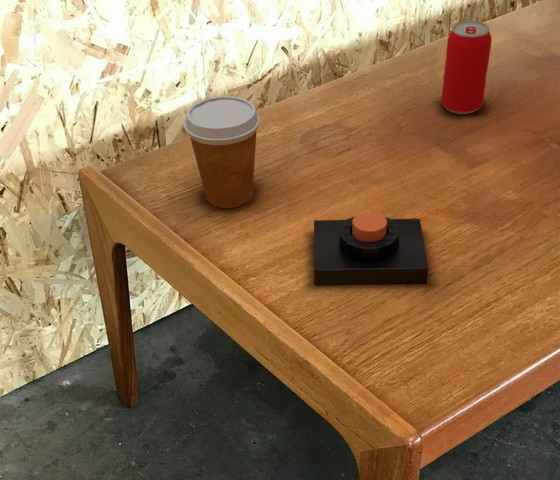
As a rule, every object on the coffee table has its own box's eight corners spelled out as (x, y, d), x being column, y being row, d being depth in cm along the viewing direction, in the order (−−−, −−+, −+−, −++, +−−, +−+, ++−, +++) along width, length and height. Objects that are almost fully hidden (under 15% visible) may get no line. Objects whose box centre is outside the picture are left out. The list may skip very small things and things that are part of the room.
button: (385, 223, 94) (386, 211, 93) (387, 243, 92) (388, 230, 90) (351, 224, 95) (351, 211, 93) (352, 243, 92) (353, 231, 91)
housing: (418, 233, 99) (421, 205, 96) (426, 283, 92) (429, 255, 89) (314, 234, 99) (313, 207, 97) (314, 284, 92) (313, 257, 90)
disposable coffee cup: (254, 171, 111) (248, 89, 102) (273, 207, 104) (268, 122, 96) (187, 184, 109) (176, 101, 101) (202, 221, 103) (191, 136, 94)
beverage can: (481, 98, 123) (493, 19, 115) (481, 117, 119) (493, 37, 111) (441, 97, 124) (449, 18, 116) (439, 115, 120) (448, 36, 112)
